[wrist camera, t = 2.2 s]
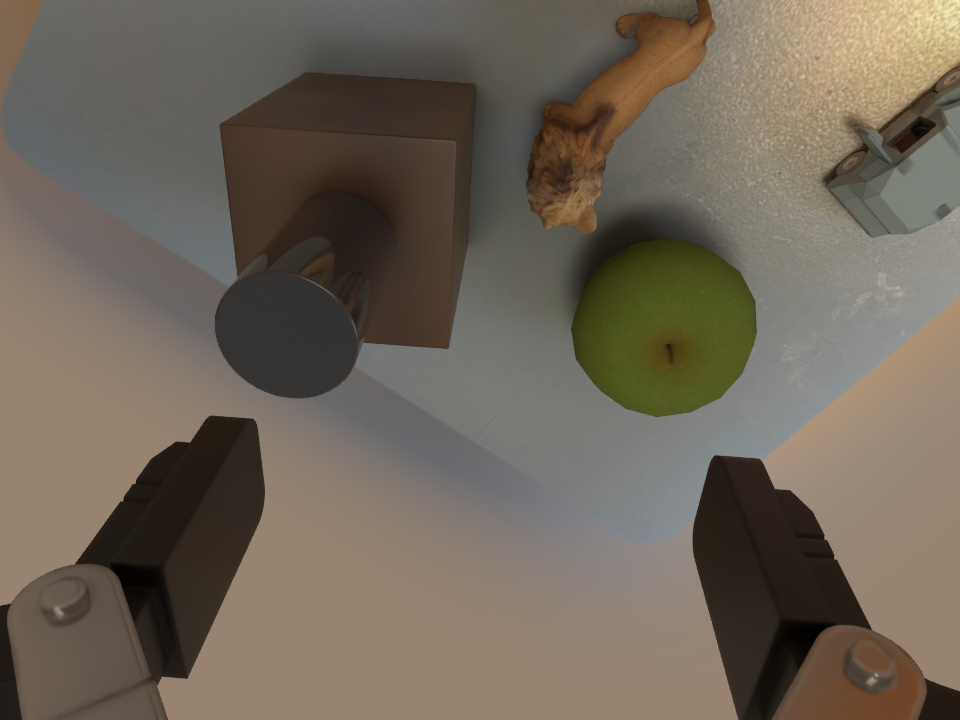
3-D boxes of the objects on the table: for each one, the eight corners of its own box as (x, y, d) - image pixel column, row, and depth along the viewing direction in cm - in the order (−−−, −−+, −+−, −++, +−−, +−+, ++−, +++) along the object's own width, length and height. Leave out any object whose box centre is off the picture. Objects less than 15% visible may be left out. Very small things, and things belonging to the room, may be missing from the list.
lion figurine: (574, 209, 46) (584, 263, 38) (504, 161, 45) (499, 208, 37) (738, -9, 40) (791, 3, 32) (662, -72, 38) (697, -75, 31)
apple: (731, 346, 50) (775, 430, 42) (578, 368, 52) (589, 453, 43) (726, 193, 45) (774, 253, 36) (556, 223, 47) (563, 287, 38)
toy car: (1013, 104, 42) (1068, 123, 38) (858, 226, 46) (893, 255, 41) (952, 20, 40) (1003, 29, 36) (796, 155, 44) (825, 178, 40)
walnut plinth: (314, 234, 48) (243, 334, 36) (304, 72, 43) (218, 123, 31) (467, 245, 48) (448, 349, 36) (475, 83, 43) (456, 139, 31)
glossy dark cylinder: (291, 291, 34) (223, 393, 27) (282, 186, 32) (205, 265, 24) (397, 299, 34) (360, 404, 26) (397, 194, 32) (356, 276, 24)
